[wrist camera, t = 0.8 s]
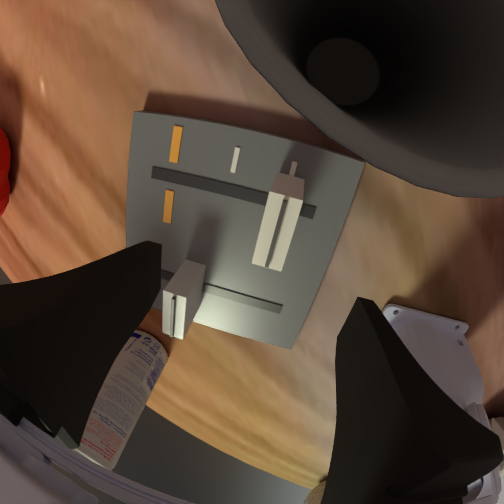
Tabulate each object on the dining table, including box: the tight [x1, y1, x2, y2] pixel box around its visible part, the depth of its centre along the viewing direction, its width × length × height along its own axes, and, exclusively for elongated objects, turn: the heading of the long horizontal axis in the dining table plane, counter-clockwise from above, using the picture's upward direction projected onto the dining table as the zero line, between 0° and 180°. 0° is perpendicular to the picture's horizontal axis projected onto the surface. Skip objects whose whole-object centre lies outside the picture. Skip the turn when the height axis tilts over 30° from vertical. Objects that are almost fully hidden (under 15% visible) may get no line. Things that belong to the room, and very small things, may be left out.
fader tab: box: [252, 172, 305, 272], centre depth 16 cm, size 2×4×4 cm, turn 169°
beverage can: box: [71, 330, 168, 471], centre depth 23 cm, size 6×6×15 cm
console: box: [126, 110, 365, 349], centre depth 19 cm, size 15×16×6 cm
